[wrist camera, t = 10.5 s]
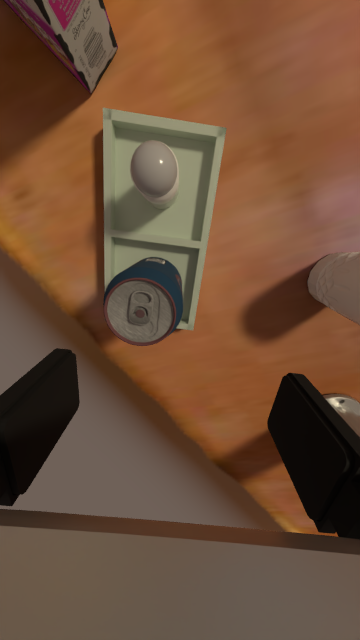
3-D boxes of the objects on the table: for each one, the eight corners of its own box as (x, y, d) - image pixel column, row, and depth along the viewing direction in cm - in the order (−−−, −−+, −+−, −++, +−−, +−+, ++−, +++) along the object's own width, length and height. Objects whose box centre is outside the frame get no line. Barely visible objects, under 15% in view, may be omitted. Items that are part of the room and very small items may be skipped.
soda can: (176, 311, 29) (175, 358, 18) (127, 303, 29) (93, 345, 17) (186, 261, 27) (191, 279, 15) (132, 251, 26) (97, 261, 15)
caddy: (192, 323, 31) (193, 330, 28) (110, 313, 30) (104, 320, 28) (221, 139, 23) (226, 127, 20) (111, 121, 22) (103, 107, 20)
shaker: (176, 211, 24) (175, 197, 16) (142, 206, 24) (123, 190, 16) (181, 170, 23) (181, 133, 15) (144, 165, 23) (124, 124, 14)
